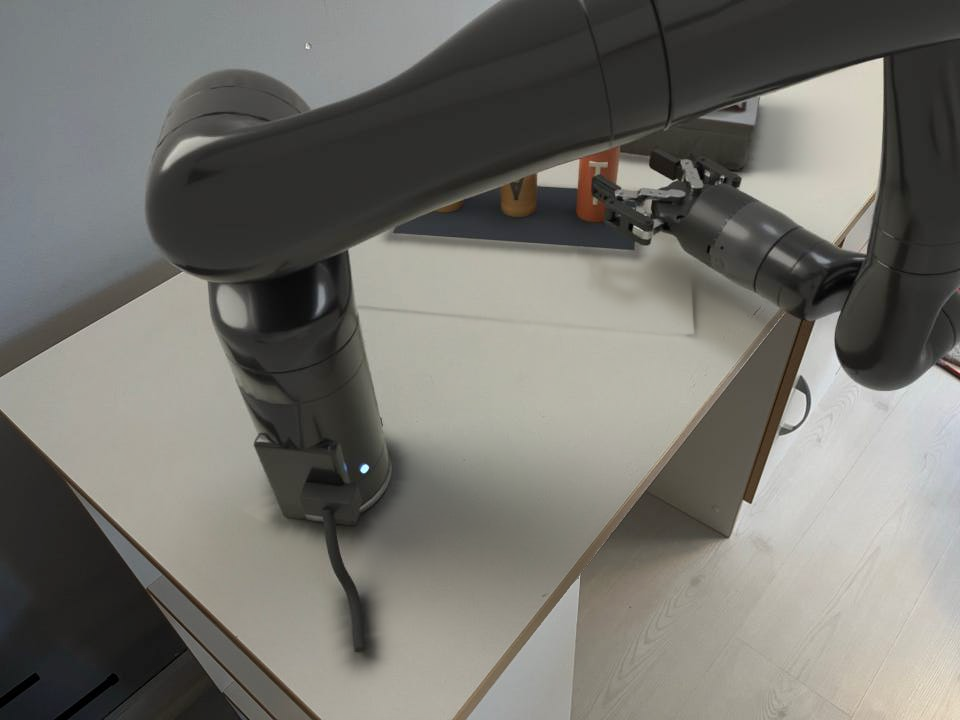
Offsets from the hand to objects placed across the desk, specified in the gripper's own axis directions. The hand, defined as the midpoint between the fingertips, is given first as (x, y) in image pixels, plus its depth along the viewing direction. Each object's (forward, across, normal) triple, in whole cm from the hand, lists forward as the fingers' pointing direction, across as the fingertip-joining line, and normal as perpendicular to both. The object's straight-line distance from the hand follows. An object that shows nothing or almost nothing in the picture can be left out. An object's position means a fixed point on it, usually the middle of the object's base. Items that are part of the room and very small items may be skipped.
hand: (623, 169), depth 78 cm
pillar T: (+4, 0, +8) cm, 9 cm away
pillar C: (+17, +13, +8) cm, 22 cm away
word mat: (+10, +7, +8) cm, 15 cm away
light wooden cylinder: (+10, +6, +8) cm, 14 cm away
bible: (+15, -22, +8) cm, 28 cm away
